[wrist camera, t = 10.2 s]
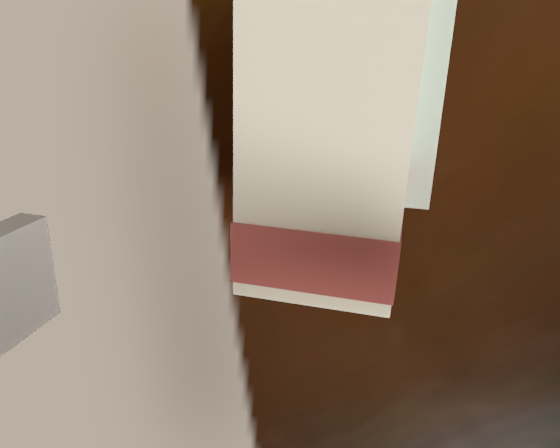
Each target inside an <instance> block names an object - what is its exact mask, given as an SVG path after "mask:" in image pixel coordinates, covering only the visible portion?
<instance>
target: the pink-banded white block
mask: <svg viewBox="0 0 560 448" xmlns="http://www.w3.org/2000/svg"><path fill="white" fill-rule="evenodd" d="M430 7H431V0H233V221H232V222H231V223H230V242H231V282H233V294H235V295H242V296H248V297H255V298H261V299H268V300H274V301H281V302H287V303H294V304H300V305H307V306H313V307H320V308H327V309H333V310H340V311H346V312H353V313H359V314H366V315H372V316H379V317H385V318H390V312H391V305H392V306H393V303H394V296H395V288H396V281H397V273H398V266H399V258H400V251H401V241H402V220H403V213H404V205H405V198H406V190H407V182H408V175H409V167H410V159H411V152H412V144H413V136H414V129H415V121H416V114H417V106H418V98H419V91H420V83H421V75H422V68H423V60H424V52H425V45H426V37H427V30H428V22H429V14H430Z"/></svg>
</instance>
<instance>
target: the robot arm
mask: <svg viewBox="0 0 560 448" xmlns="http://www.w3.org/2000/svg"><path fill="white" fill-rule="evenodd" d="M58 313H60V307H59V300H58V293H57V287H56V280H55V273H54V266H53V259H52V253H51V246H50V239H49V232H48V225H47V219H46V216H39V215H32V214H24V213H20V214H17V215H15V216H12V217H10V218H8V219H5V220H3V221H1V222H0V357H1V356H2V355H3V354H5V353H6V352H7V351H9V350H10V349H11V348H13V347H14V346H15V345H17V344H18V343H19V342H21V341H22V340H24V339H25V338H26V337H28V336H29V335H30V334H32V333H33V332H34V331H36V330H37V329H38V328H40V327H41V326H42V325H44V324H45V323H46V322H48V321H49V320H50V319H52V318H53V317H55V316H56V315H57V314H58Z"/></svg>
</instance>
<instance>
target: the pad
mask: <svg viewBox="0 0 560 448" xmlns="http://www.w3.org/2000/svg"><path fill="white" fill-rule="evenodd" d="M456 7H457V0H431V7H430V14H429V22H428V30H427V37H426V45H425V52H424V60H423V68H422V75H421V83H420V91H419V98H418V106H417V114H416V121H415V129H414V136H413V144H412V152H411V159H410V167H409V175H408V182H407V190H406V198H405V205H404V207H406V208H417V209H427V210H429V204H430V197H431V190H432V182H433V175H434V168H435V160H436V153H437V146H438V138H439V131H440V124H441V116H442V109H443V102H444V94H445V87H446V80H447V72H448V65H449V58H450V51H451V43H452V36H453V29H454V21H455V14H456Z"/></svg>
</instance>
